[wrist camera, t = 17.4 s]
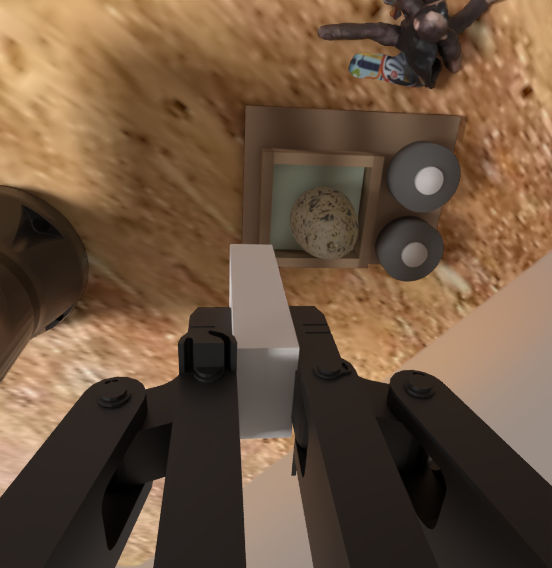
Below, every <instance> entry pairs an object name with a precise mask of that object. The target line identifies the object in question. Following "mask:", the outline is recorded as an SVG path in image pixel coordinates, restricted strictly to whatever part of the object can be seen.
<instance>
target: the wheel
mask: <svg viewBox="0 0 552 568" xmlns="http://www.w3.org/2000/svg"><path fill="white" fill-rule="evenodd" d="M386 180H387V186H388V189H389V192H390V193H391V195H392V196H393V197H394V198H395V199H396V200H397V201H398V202H399V203H401V204H402V205H403V206H404V207H406V208H407V209H409V210H411V211H414V212H430V211H433V210H435V209H438V208H439V207H441V206H443V205H444V204H445V203H446V202H447V201H449V199H450V198H451V197H452V196H453V194H454V193H455V191H456V189H457V187H458V184H459V181H460V165H459V162H458V160H457V158H456V156H455V155H454V154H453V153H452V152H451V151H450V150H449V149H447V148H445V147H443V146H441V145H438V144H436V143H433V142H430V141H416V142H413V143H410V144H408V145H406V146H404V147H403V148H402V149H400V150H399V151H398V152H397V153H396V154H395V156H394V157H393V159H392V160H391V162H390V164H389V167H388V170H387V176H386Z"/></svg>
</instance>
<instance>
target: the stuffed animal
mask: <svg viewBox="0 0 552 568" xmlns="http://www.w3.org/2000/svg"><path fill="white" fill-rule="evenodd" d="M495 1H497V0H470V2H469V3H468V4H467V5H466V6H465V8H464V9H463V10H461V11H460V12H458V13H457V14H456V15H454V16H452V17H449V15H448V9H447V3H446V1H445V0H383V2H384V3H385V4H387V5H392V6H393V10H392V11H391V12H390V16H391V17H393V18H394V20H396V19H398V18H399V17H400V16H401V11H402V12H403V14H404V16H405V19H404V20H403V21H402V22H401V26H398V25H391V24H387V23H382V22H379V23H365V24H357V23H341V24H332V25H325V26H321V27H320V28H319V29H318V35H319V37H320V38H322V39H325V40H334V39H350V40H351V39H362V38H369V39H372V40H374V41H376V42H378V43H380V44H382V45H385V46H395V47H396V48H397V49H399V50H401V53H400V54H399V55H397V56H395V57H391V56H388V55H386V54H371V53H358V54H356V55H355V56H354V57H353V59H352V60H351V62H350V65H349V71H350V73H351V74H352V75H353V76H354V77H357V78H366V79H378V80H383V81H387V82H391V83H394V84H399V85H403V86H409V87H422V86H425V87H429V88H430V89H433V88H434V87H435V83H436V79H437V77H438V74H439V72H440V70H441V68H442V65H441V61H440V59H438V58H437V57H436V55H437V52H438V54H439V55H440V56H441V57H442V58H443V62H444V65H445V67H446V68H447V70H449V71H450V72H452V73H456V72H457V71H458V70H459V69H460V68H461V61H462V55H463V54H462V52H461V46H460V43H459V37H458V34H460V33H462V32H463V31H464V30H465V28H467V27H469V26H470V25H471V24H472V23H473V22H474V21H475V20H476V19H477V18H478V17H479V16H480V15H481V14H482V13H483V12H485V11H486V10H487V9H488V6H489V4H490V3H493V2H495Z"/></svg>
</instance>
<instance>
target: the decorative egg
mask: <svg viewBox="0 0 552 568" xmlns="http://www.w3.org/2000/svg"><path fill="white" fill-rule="evenodd" d="M290 227H291V231H292V234H293V236H294V238H295V240H296V241H297V243H298V244H299V245H300V246H301V247H302V248H303V249H304V250H305V251H306V252H308V253H309V254H311V255H313V256H315V257H317V258H320V259H324V260H335V259H339V258H341V257H343V256H345V255H346V254H348V253H349V252H350V251H351V250H352V248H353V247H354V245H355V243H356V240H357V236H358V217H357V214H356V211H355V208H354V206H353V205H352V203H351V202H350V200H349V199H348V198H347V197H346V196H345V195H344V194H343V193H341V192H340V191H338V190H336V189H333V188H330V187H316V188H312V189H310V190H307V191H306V192H304V193H303V194H302V195H300V196H299V197H298V199H297V200H296V201H295V203H294V205H293V207H292V210H291V213H290Z"/></svg>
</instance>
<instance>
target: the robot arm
mask: <svg viewBox="0 0 552 568" xmlns="http://www.w3.org/2000/svg"><path fill="white" fill-rule="evenodd" d="M87 278H88V261H87V256H86V252H85V249H84V246H83V244H82V241H81V239H80V237H79V236H78V234H77V232H76V231H75V229H74V228H73V227H72V225H71V224H70V223H69V222H68V220H67V219H66V218H65V217H64V216H63V215H62V214H61V213H60V212H58V211H57V210H56V209H55V208H53V207H52V206H51V205H49V204H48V203H46V202H45V201H43V200H41V199H40V198H38V197H36V196H34V195H32V194H29V193H27V192H24V191H21V190H18V189H14V188H10V187H5V186H0V383H1V382H2V380H3V379H4V377H5V376H6V375H7V373H8V372H9V370H10V369H11V367H12V366H13V364H14V363H15V361H16V360H17V358H18V357H19V355H20V354H21V352H22V351H23V349H24V348H25V346H26V345H27V343H28V342H29V340H31V339H32V338H34V337H36V336H38V335H40V334H42V333H44V332H45V331H47V330H49V329H51V328H53V327H55V326H56V325H58V324H59V323H60V322H62V321H63V320H64V319H65V318H66V317H67V316H68V315H69V314H70V313H71V312H72V310H73V309H74V308H75V306H76V304H77V303H78V301H79V299H80V298H81V296H82V294H83V292H84V290H85V287H86V283H87ZM178 356H179V375H178V376H177V377H176V378H175V379H173V380H172V381H170V382H168V383H166V384H164V385H160V386H157V387H153V388H149V389H145V387H144V385H143V384H142V383H140V382H139V381H138V380H136V379H132V378H129V377H113V378H109V379H104V380H102V381H100V382H97V383H95V384H93V385H92V386H91V387H90V388H88V389H87V390H86V391H85V392H84V393H83V395H82V396H81V397H80V398H79V400H78V401H77V402H76V403H75V405H74V406H73V407H72V408H71V410H70V411H69V412H68V413H67V415H66V416H65V417H64V418H63V420H62V421H61V422H60V423H59V425H58V426H57V427H56V428H55V430H54V431H53V432H52V433H51V435H50V436H49V437H48V438H47V440H46V441H45V442H44V443H43V445H42V446H41V447H40V448H39V450H38V451H37V452H36V454H35V455H34V456H33V457H32V459H31V460H30V461H29V462H28V464H27V465H26V466H25V467H24V469H23V470H22V471H21V472H20V474H19V475H18V476H17V477H16V479H15V480H14V481H13V482H12V484H11V485H10V486H9V487H8V489H7V490H6V491H5V492H4V494H3V495H2V496H1V497H0V568H115V567H116V564H117V562H118V560H119V558H120V556H121V554H122V551H123V549H124V547H125V545H126V543H127V540H128V538H129V536H130V534H131V532H132V529H133V527H134V525H135V523H136V521H137V519H138V516H139V514H140V512H141V510H142V508H143V505H144V503H145V501H146V499H147V497H148V494H149V492H150V490H151V488H152V483H153V480H156V479H160V478H163V477H165V484H164V492H163V499H162V507H161V514H160V522H159V529H158V537H157V544H156V552H155V560H154V567H153V568H246V553H245V534H244V512H243V491H242V471H241V450H240V439H254V438H283V437H291V434H292V423H293V428H294V433H295V443H294V453H293V463H292V476H295V475H296V470H297V475H298V481H299V486H300V492H301V498H302V504H303V509H304V515H305V521H306V527H307V532H308V538H309V543H310V549H311V555H312V561H313V567H314V568H552V486H551V485H550V484H549V483H548V482H547V481H546V480H545V479H544V478H543V477H542V476H541V475H540V474H538V473H537V472H536V471H535V470H534V469H533V468H532V467H531V466H530V465H529V464H528V463H527V462H526V461H525V460H524V459H523V458H521V456H520V455H518V454H517V453H516V452H515V451H514V450H513V449H512V448H511V447H510V446H509V445H508V444H507V443H506V442H505V441H504V440H503V439H502V438H501V437H499V436H498V435H497V434H496V433H495V432H494V431H493V430H492V429H491V428H490V427H489V426H488V425H487V424H486V423H485V422H484V421H483V420H482V419H481V418H480V417H478V416H477V415H476V414H475V413H474V412H473V411H472V410H471V409H470V408H469V407H468V406H467V405H466V404H465V403H464V402H463V401H462V400H461V399H460V398H458V397H457V396H456V395H455V394H454V393H453V392H452V391H451V390H450V389H449V388H448V387H447V386H446V385H445V384H443V382H441V381H440V380H439V379H437V378H436V377H434V376H432V375H430V374H427V373H425V372H421V371H415V370H403V371H400V372H397V373H395V374H394V375H393V376H392V377H391V379H390V384H386V383H381V382H376V381H371V380H368V379H364V378H362V377H359V376H358V374H357V372H356V370H355V369H354V367H353V366H352V364H351V363H349V362H347V361H346V360H344V359H342V358H341V357H340V354H339V351H338V349H337V346H336V344H335V341H334V339H333V336H332V334H331V331H330V329H329V326H328V324H327V321H326V318H325V316H324V314H323V313H322V312H320V311H319V310H318V309H317V308H316V307H315V306H288V303H287V299H286V295H285V291H284V288H283V284H282V280H281V276H280V272H279V269H278V265H277V261H276V257H275V253H274V250H273V246H272V245H263V244H230V289H229V307H198V308H197V309H196V310H195V311H194V312H193V313H192V314H191V316H190V320H189V328H188V333H186V334H185V335H183V336H182V337H181V338H180V340H179V342H178Z"/></svg>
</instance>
